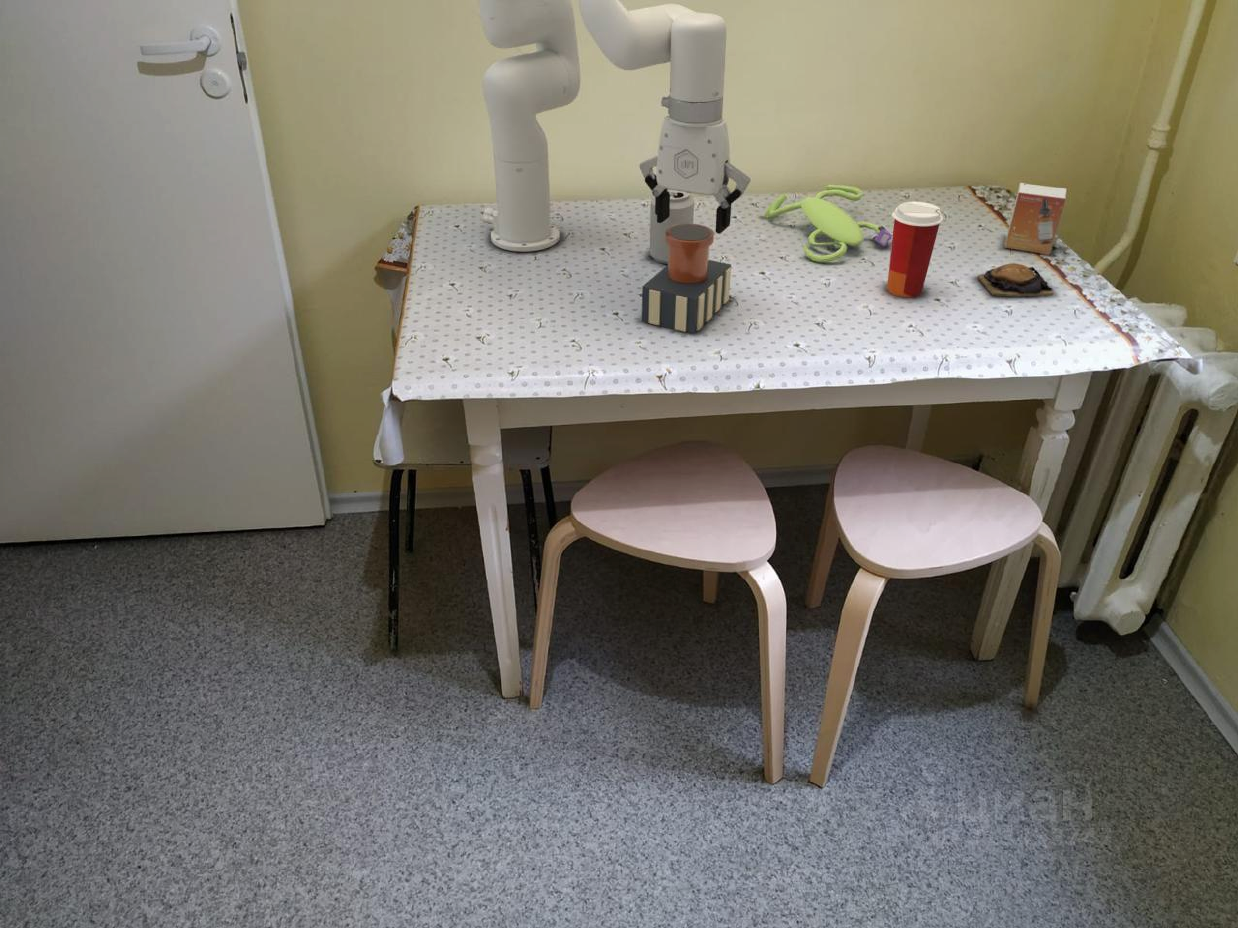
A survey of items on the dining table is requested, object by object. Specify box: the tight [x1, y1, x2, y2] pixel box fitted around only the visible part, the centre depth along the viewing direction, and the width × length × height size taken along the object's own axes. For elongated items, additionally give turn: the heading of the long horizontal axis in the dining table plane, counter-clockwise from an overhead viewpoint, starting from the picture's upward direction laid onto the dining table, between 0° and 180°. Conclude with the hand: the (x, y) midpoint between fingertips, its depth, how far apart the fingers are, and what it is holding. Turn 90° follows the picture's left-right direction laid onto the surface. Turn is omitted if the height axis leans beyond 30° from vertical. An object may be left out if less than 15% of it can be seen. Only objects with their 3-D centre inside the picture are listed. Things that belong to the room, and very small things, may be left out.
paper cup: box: [886, 201, 944, 298], centre depth 160 cm, size 8×8×14 cm
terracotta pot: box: [665, 223, 715, 283], centre depth 153 cm, size 7×7×7 cm
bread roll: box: [977, 262, 1054, 298], centre depth 165 cm, size 11×8×4 cm
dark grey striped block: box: [641, 259, 732, 335], centre depth 157 cm, size 9×14×6 cm, turn 152°
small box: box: [1004, 182, 1068, 256], centre depth 177 cm, size 8×6×10 cm
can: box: [649, 189, 695, 265], centre depth 172 cm, size 8×8×12 cm
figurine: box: [763, 184, 893, 263], centre depth 183 cm, size 18×27×6 cm
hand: (692, 225), depth 150 cm, fingers open, 9 cm apart
